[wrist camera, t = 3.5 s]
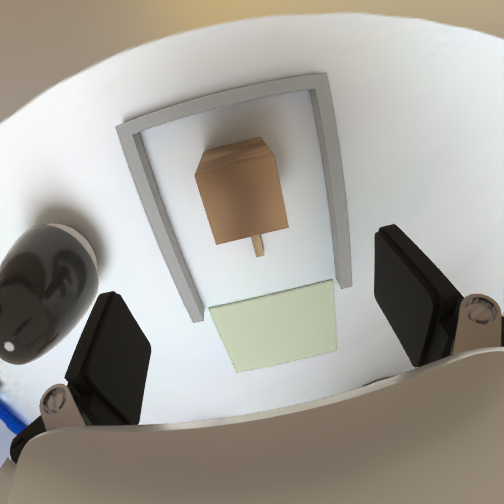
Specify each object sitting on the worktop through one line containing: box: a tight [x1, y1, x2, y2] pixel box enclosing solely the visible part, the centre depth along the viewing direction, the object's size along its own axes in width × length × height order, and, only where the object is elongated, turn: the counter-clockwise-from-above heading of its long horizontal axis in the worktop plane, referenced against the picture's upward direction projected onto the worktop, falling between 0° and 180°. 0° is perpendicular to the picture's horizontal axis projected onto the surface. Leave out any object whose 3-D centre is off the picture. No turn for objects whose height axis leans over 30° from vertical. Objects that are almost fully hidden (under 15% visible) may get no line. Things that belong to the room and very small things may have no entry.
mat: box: [209, 279, 337, 373], centre depth 36 cm, size 14×12×1 cm
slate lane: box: [115, 73, 352, 323], centre depth 27 cm, size 17×21×2 cm
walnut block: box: [195, 137, 289, 257], centre depth 24 cm, size 5×11×8 cm, turn 13°
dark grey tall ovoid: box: [0, 224, 99, 365], centre depth 22 cm, size 10×10×15 cm
